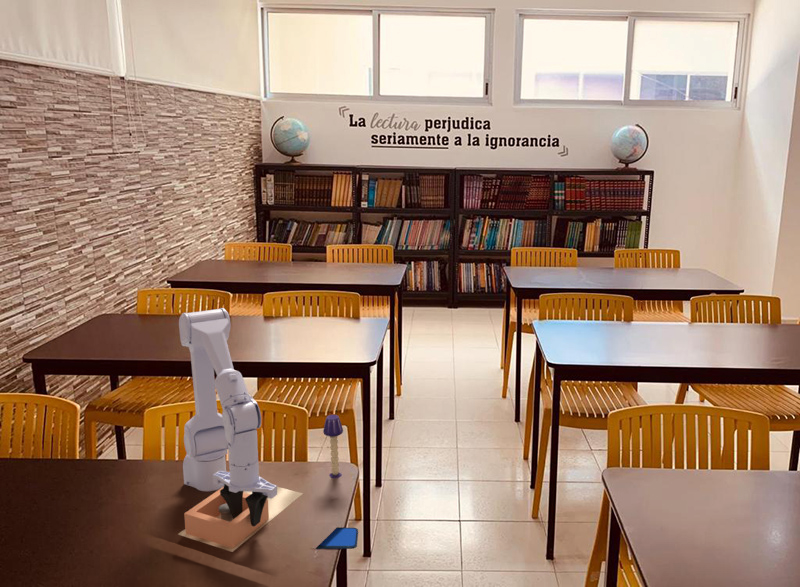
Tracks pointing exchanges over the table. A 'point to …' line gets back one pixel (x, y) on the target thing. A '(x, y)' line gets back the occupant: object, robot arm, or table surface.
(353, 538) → the smartphone
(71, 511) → the table surface
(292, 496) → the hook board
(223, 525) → the orange square frame
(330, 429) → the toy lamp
